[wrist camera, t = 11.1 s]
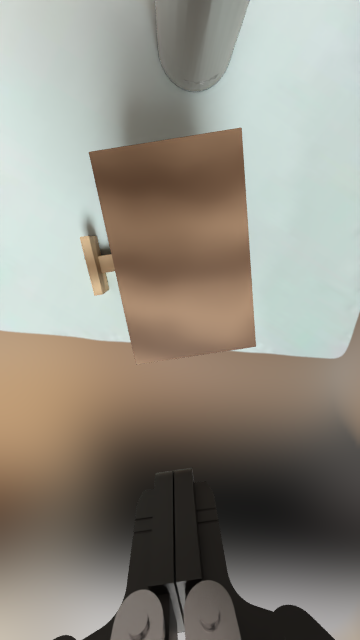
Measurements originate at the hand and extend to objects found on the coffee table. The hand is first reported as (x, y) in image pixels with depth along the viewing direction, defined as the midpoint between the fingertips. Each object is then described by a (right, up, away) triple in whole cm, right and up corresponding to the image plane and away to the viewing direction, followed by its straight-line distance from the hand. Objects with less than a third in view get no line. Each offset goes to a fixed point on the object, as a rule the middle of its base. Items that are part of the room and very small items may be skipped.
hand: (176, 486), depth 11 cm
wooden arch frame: (0, +17, +28) cm, 33 cm away
